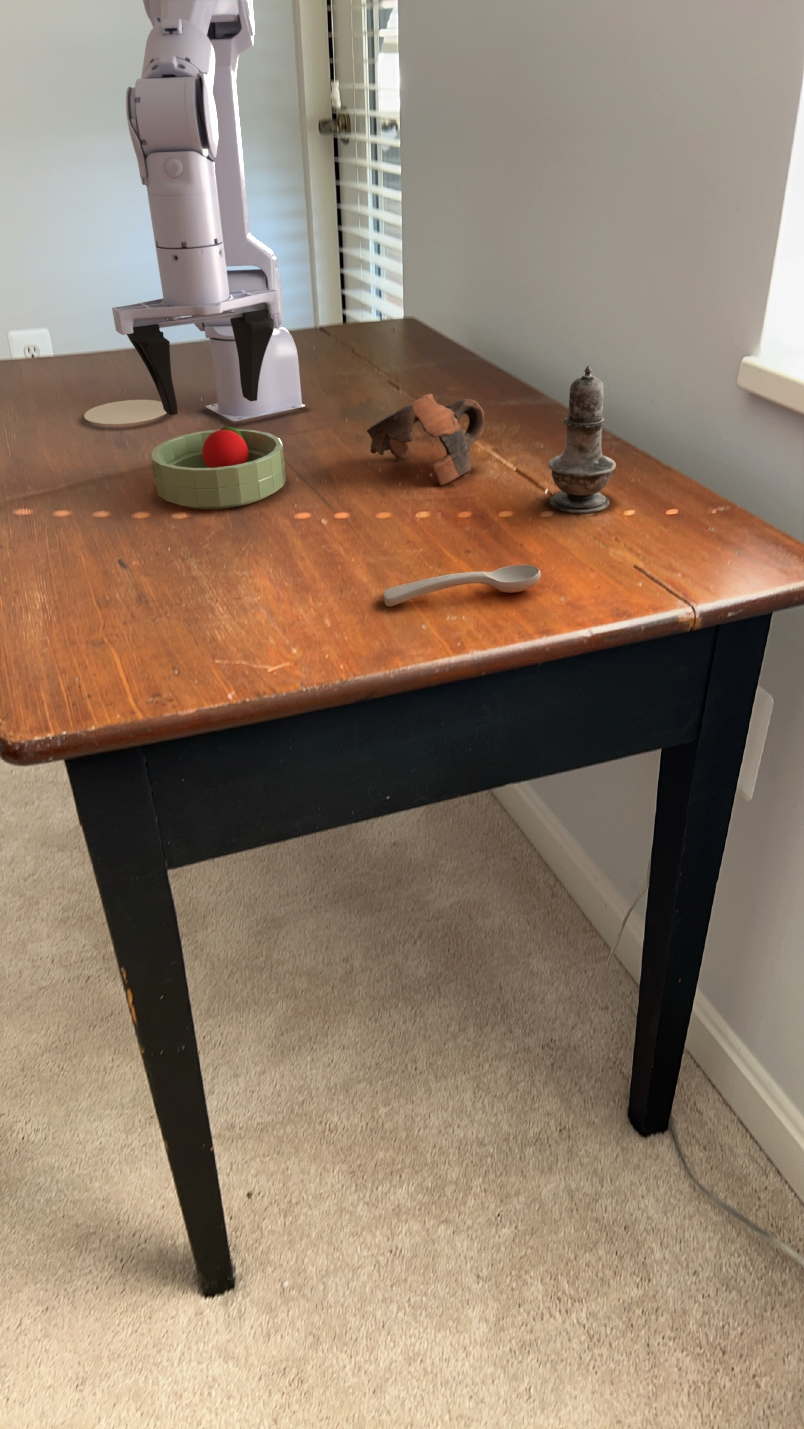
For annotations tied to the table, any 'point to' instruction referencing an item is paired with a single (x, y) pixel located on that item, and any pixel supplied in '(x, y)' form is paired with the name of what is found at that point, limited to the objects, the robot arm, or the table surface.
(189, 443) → the bowl
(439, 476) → the brown irregular piece
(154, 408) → the saucer
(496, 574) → the spoon
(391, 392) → the table surface
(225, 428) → the tomato
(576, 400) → the salt shaker
